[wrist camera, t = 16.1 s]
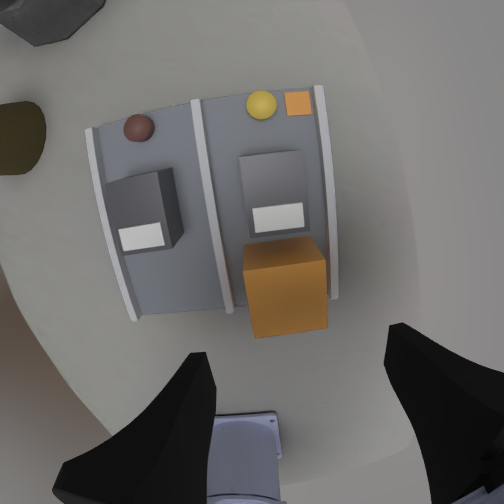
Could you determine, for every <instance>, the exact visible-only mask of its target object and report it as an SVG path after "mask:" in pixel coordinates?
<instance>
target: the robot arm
mask: <svg viewBox="0 0 504 504" xmlns="http://www.w3.org/2000/svg"><path fill="white" fill-rule="evenodd" d="M384 366H385V369H386V372H387V375H388V378H389V380H390V383H391V385H392V387H393V389H394V391H395V393H396V395H397V397H398V399H399V401H400V403H401V405H402V406H403V408H404V410H405V412H406V414H407V416H408V418H409V420H410V422H411V424H412V427H413V429H414V431H415V434H416V437H417V440H418V443H419V446H420V449H421V453H422V456H423V460H424V464H425V468H426V472H427V476H428V481H429V487H430V494H431V501H432V504H504V373H503V372H500V371H496V370H493V369H490V368H487V367H484V366H481V365H479V364H477V363H474V362H472V361H469V360H467V359H465V358H463V357H461V356H459V355H457V354H455V353H453V352H451V351H450V350H448V349H446V348H444V347H443V346H441V345H439V344H438V343H436V342H434V341H433V340H431V339H429V338H428V337H426V336H424V335H423V334H421V333H420V332H418V331H417V330H415V329H413V328H412V327H410V326H408V325H406V324H405V323H403V322H402V323H398V324H394V325H389V332H388V339H387V346H386V352H385V358H384ZM215 413H216V385H215V382H214V379H213V375H212V372H211V369H210V365H209V362H208V359H207V355H206V352H197V353H190V354H189V355H188V356H187V358H186V359H185V361H184V362H183V363H182V365H181V366H180V367H179V369H178V370H177V372H176V373H175V374H174V376H173V377H172V378H171V379H170V381H169V382H168V383H167V385H166V386H165V387H164V388H163V390H162V391H161V392H160V393H159V394H158V395H157V397H156V398H155V399H154V400H153V401H152V402H151V403H150V404H149V406H148V407H147V408H146V409H145V410H144V411H143V412H142V413H141V414H140V415H139V416H137V417H136V418H135V419H134V420H133V421H132V422H131V423H130V424H128V425H127V426H126V427H124V428H123V429H122V430H120V431H119V432H118V433H117V434H115V435H114V436H113V437H111V438H110V439H108V440H107V441H105V442H104V443H102V444H100V445H99V446H97V447H95V448H94V449H92V450H90V451H88V452H86V453H84V454H82V455H80V456H77V457H75V458H73V459H71V460H69V461H66V462H64V463H63V465H62V467H61V469H60V472H59V474H58V476H57V479H56V481H55V484H54V486H53V489H52V492H53V494H54V495H55V496H56V497H57V498H58V499H59V500H60V501H62V502H63V503H64V504H287V503H286V501H281V500H280V487H279V473H278V460H279V459H282V450H281V443H280V435H279V428H278V420H277V414H276V413H273V412H271V413H261V414H249V415H235V416H215Z"/></svg>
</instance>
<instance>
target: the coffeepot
mask: <svg viewBox="0 0 504 504" xmlns="http://www.w3.org/2000/svg"><path fill="white" fill-rule="evenodd" d="M104 1H105V0H0V24H2V25H4V26H5V27H6V28H8V29H9V30H11V31H12V32H14V33H15V34H17V35H18V36H20V37H21V38H23V39H24V40H26V41H27V42H29V43H30V44H31V45H33V46H38V45H43V44H49V43H54V42H57V41H60V40H62V39H66V38H68V37H69V36H70V35H71V34H73V33H74V32H75V31H77V30H78V29H79V28H80V27H81V26H83V25H84V24H85V23H86V22H87V21H88V20H89V19H90V18H91V17H92V16H93V15H94V14H95V13H96V11H97V10H98V9H99V8H100V7H101V6H102V5H103V3H104Z"/></svg>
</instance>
